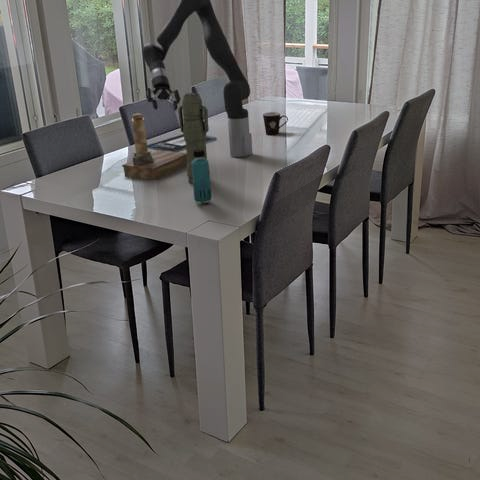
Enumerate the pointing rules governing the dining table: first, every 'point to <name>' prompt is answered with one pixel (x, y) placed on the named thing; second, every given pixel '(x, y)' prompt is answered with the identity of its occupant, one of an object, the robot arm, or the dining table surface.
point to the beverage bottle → (201, 177)
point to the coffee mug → (272, 122)
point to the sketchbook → (174, 144)
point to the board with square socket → (155, 164)
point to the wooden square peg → (139, 135)
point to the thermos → (193, 127)
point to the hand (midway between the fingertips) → (166, 108)
